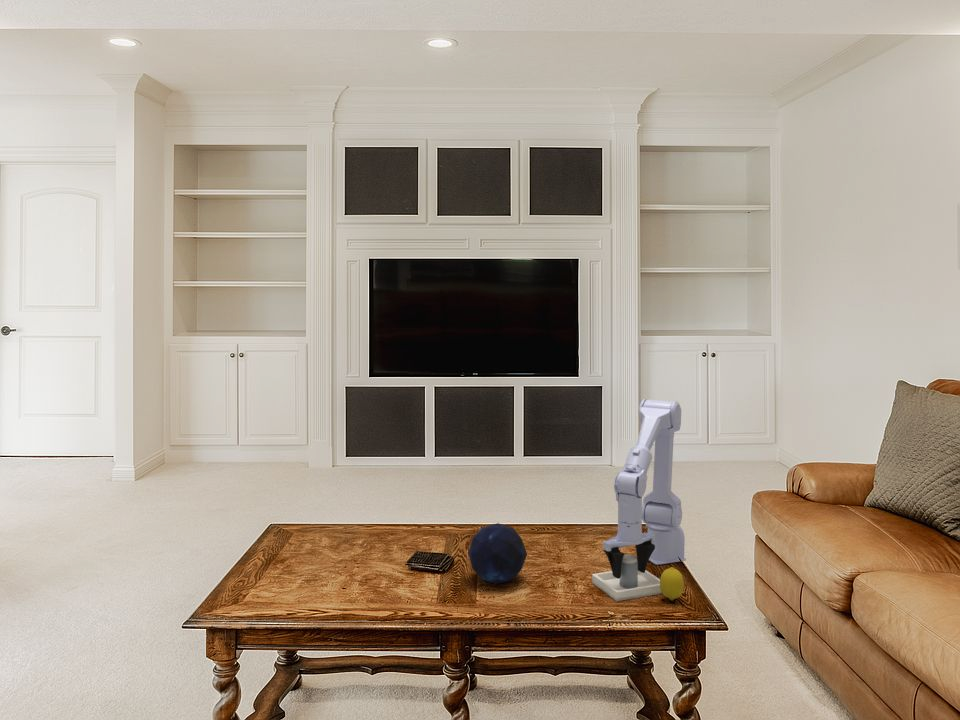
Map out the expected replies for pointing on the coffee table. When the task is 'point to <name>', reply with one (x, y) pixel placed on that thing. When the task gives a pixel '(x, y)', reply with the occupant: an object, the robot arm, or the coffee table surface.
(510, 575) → the decorative orb
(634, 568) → the cylinder
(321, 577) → the coffee table surface
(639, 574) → the tray
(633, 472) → the robot arm
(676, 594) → the lemon
